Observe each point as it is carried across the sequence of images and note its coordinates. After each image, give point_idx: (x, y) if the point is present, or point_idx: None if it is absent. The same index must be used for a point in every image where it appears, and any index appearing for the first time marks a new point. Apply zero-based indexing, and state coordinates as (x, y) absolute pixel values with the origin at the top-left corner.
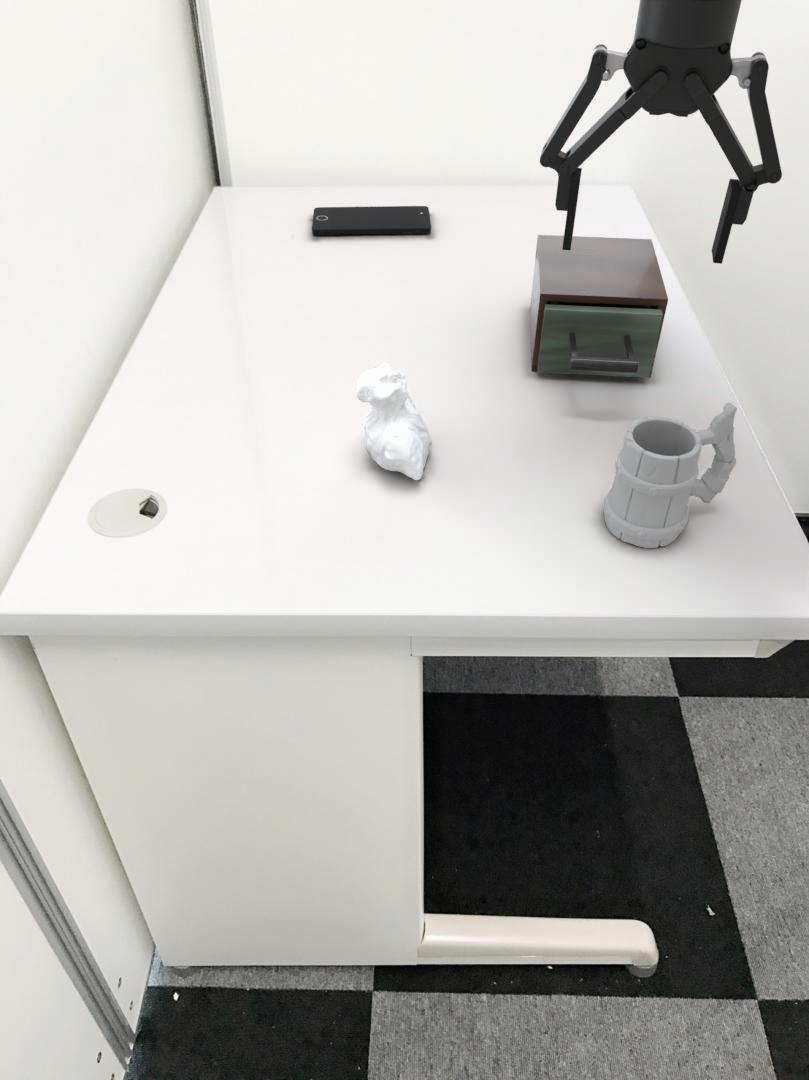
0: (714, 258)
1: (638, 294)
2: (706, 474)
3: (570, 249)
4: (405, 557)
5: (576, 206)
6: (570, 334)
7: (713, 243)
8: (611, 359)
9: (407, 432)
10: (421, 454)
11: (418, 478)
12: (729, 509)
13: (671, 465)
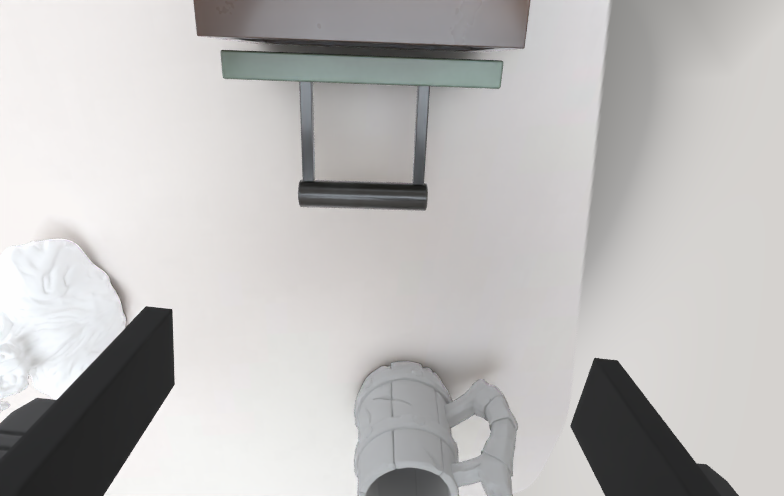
0: (575, 434)
1: (453, 24)
2: (479, 411)
3: (173, 383)
4: (145, 455)
5: (112, 421)
6: (300, 87)
7: (603, 372)
8: (375, 202)
9: (65, 388)
10: None
11: None
12: (511, 369)
13: None
